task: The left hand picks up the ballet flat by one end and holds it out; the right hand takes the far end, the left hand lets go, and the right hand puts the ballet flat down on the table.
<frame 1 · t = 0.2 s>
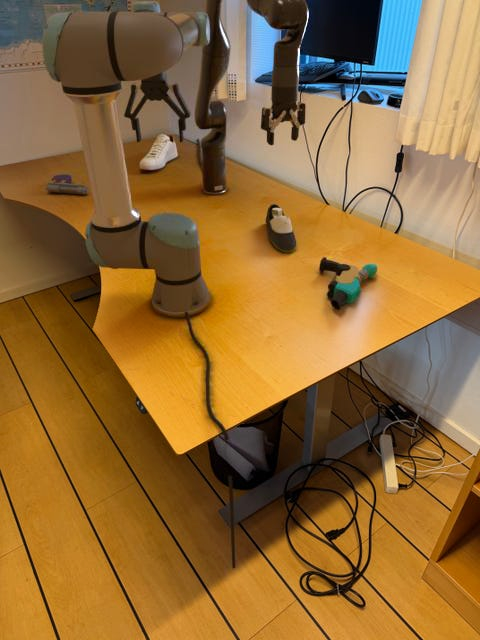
left hand: (160, 141, 150), 28 cm above the table, tool pointing down, fingers open, 13 cm apart
right hand: (282, 142, 143), 29 cm above the table, tool pointing down, fingers open, 8 cm apart
toy gun: (72, 189, 193), on the table
toy gun 2: (338, 288, 130), on the table
ballet flat: (277, 236, 156), on the table
sneaker: (158, 164, 218), on the table
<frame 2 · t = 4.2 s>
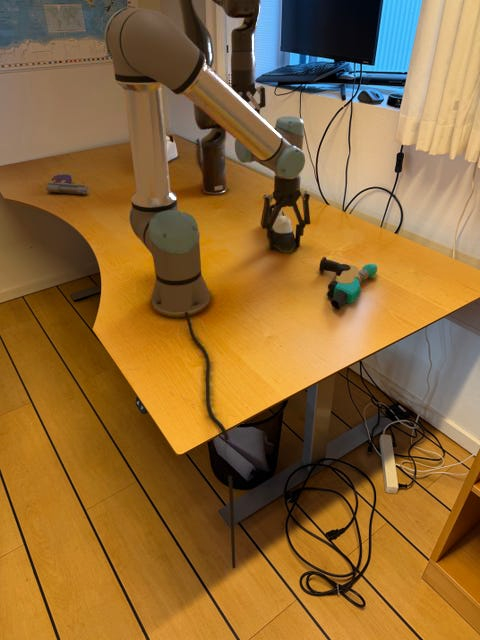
left hand: (284, 246, 150), 0 cm above the table, tool pointing down, fingers closed on ballet flat, 8 cm apart
right hand: (243, 122, 157), 30 cm above the table, tool pointing down, fingers open, 8 cm apart
ballet flat: (277, 236, 156), on the table, touching left hand
everything else where it was.
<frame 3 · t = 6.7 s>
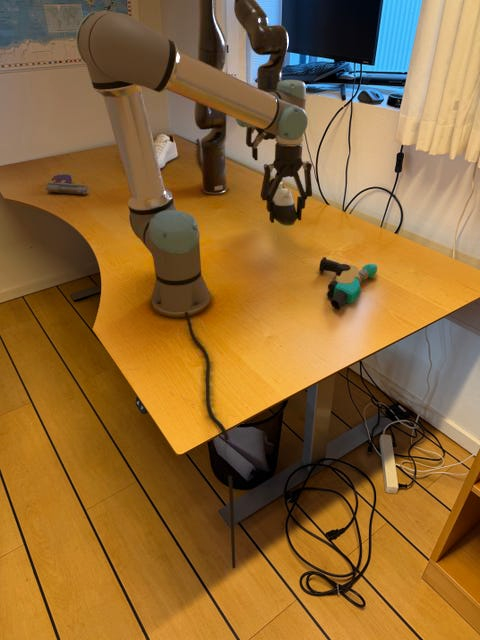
left hand: (285, 219, 145), 9 cm above the table, tool pointing down, fingers closed on ballet flat, 8 cm apart
right hand: (268, 158, 151), 22 cm above the table, tool pointing down, fingers open, 8 cm apart
ballet flat: (278, 211, 151), point 9 cm above the table, touching left hand
everything else where it was.
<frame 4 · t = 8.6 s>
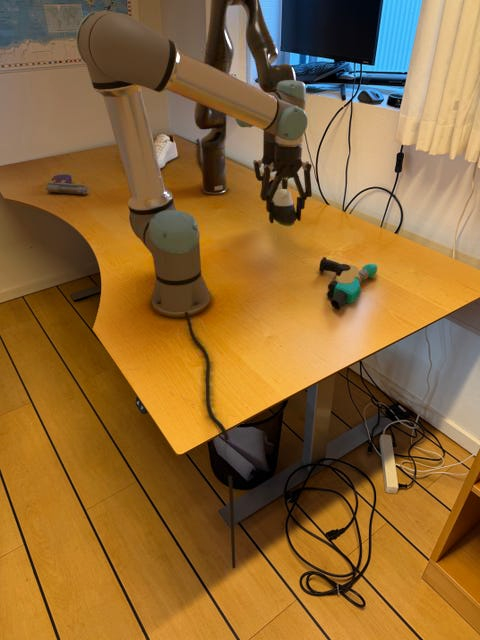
left hand: (284, 220, 145), 9 cm above the table, tool pointing down, fingers closed on ballet flat, 8 cm apart
right hand: (274, 191, 155), 12 cm above the table, tool pointing down, fingers closed on ballet flat, 5 cm apart
ballet flat: (277, 211, 151), point 9 cm above the table, touching left hand, right hand
everything else where it was.
when the left hand's fingers open (9 cm above the table, at t = 9.6 s): ballet flat stays where it is, held by the right hand.
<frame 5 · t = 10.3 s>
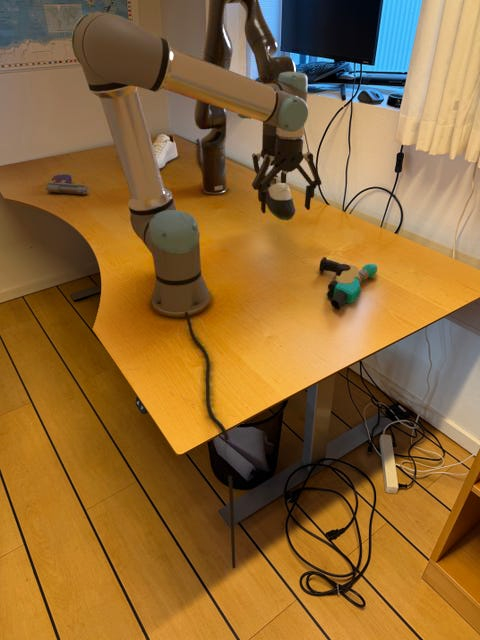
left hand: (285, 209, 142), 13 cm above the table, tool pointing down, fingers open, 13 cm apart
right hand: (272, 185, 154), 15 cm above the table, tool pointing down, fingers closed on ballet flat, 5 cm apart
ballet flat: (276, 206, 150), point 11 cm above the table, touching right hand
everything else where it was.
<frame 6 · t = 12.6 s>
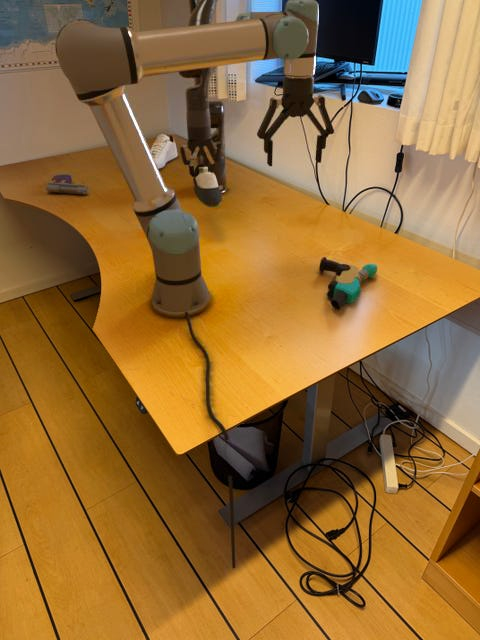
left hand: (294, 163, 129), 28 cm above the table, tool pointing down, fingers open, 13 cm apart
right hand: (201, 175, 161), 15 cm above the table, tool pointing down, fingers closed on ballet flat, 5 cm apart
ballet flat: (205, 194, 157), point 11 cm above the table, touching right hand
everything else where it was.
when the right hand's fingers open (5 cm above the table, at t = 17.0 s): ballet flat stays where it is, on the table.
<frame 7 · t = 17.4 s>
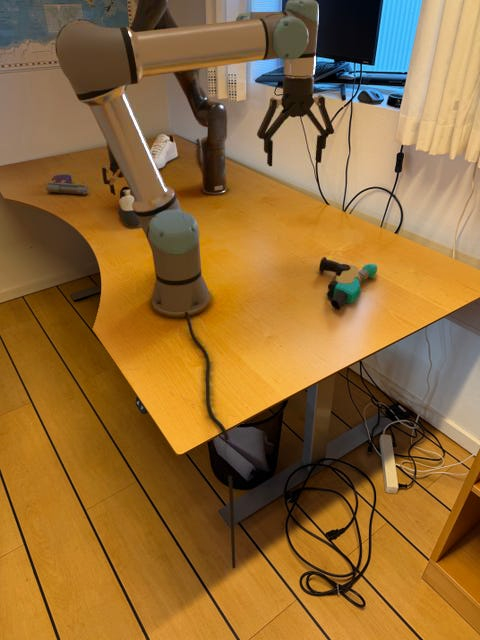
left hand: (294, 163, 129), 28 cm above the table, tool pointing down, fingers open, 13 cm apart
right hand: (125, 192, 175), 5 cm above the table, tool pointing down, fingers open, 8 cm apart
ballet flat: (129, 215, 172), on the table
everything else where it was.
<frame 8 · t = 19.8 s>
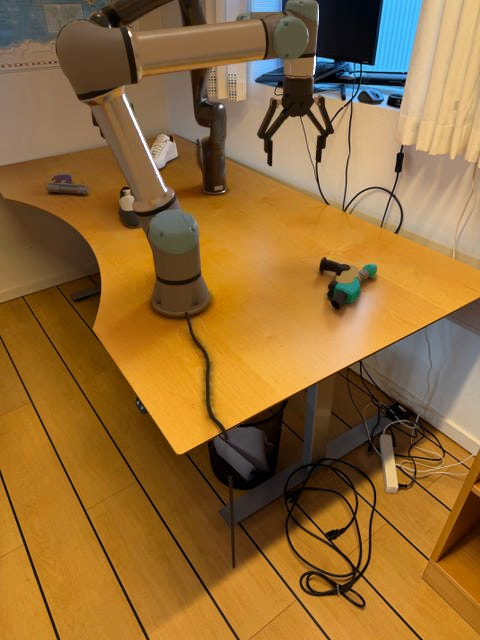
left hand: (294, 163, 129), 28 cm above the table, tool pointing down, fingers open, 13 cm apart
right hand: (116, 137, 163), 25 cm above the table, tool pointing down, fingers open, 8 cm apart
nothing on the table moved.
at the end: ballet flat inside the target area (8.0 cm from its centre), on the table; the left hand is holding nothing; the right hand is holding nothing; ballet flat at rest at the end (0.0 cm/s) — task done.
